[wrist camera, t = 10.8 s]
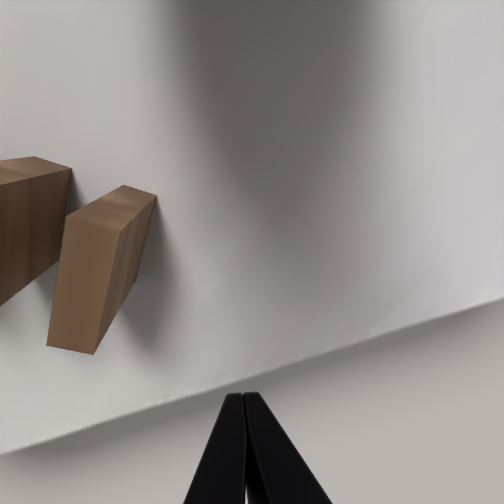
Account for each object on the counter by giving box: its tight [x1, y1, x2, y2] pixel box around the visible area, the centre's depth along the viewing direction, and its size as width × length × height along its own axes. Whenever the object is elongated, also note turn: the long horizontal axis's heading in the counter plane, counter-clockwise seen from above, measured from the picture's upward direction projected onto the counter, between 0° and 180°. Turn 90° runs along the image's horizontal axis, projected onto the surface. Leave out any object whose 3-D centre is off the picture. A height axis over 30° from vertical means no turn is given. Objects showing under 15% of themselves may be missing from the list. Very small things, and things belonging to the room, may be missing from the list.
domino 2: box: [46, 185, 156, 355], centre depth 13 cm, size 2×5×6 cm, turn 160°
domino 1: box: [0, 156, 71, 306], centre depth 12 cm, size 2×5×6 cm, turn 160°
